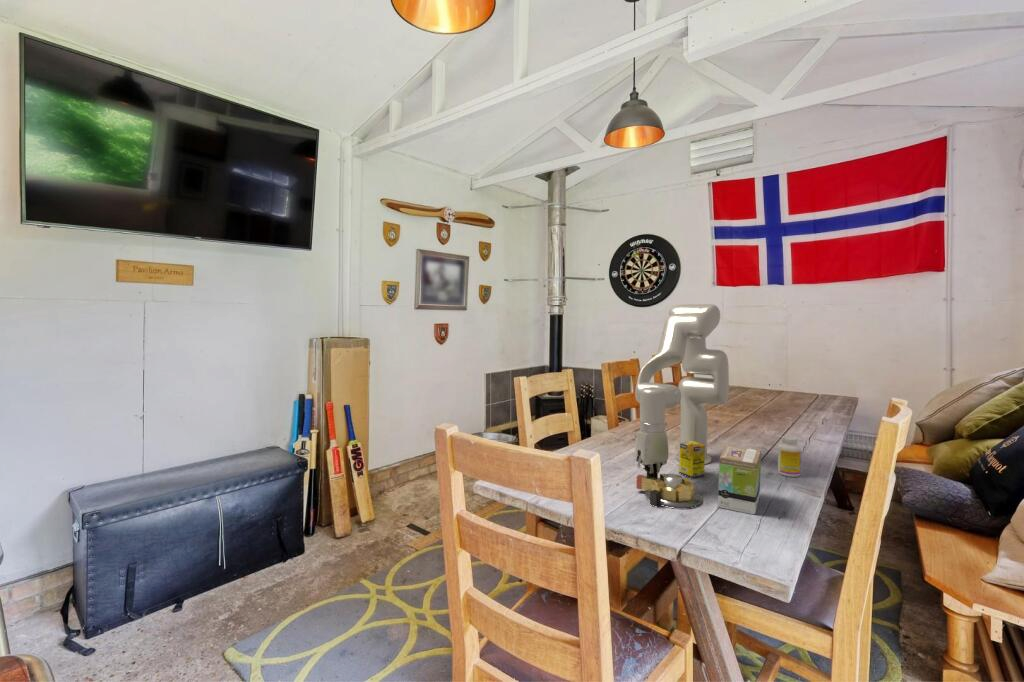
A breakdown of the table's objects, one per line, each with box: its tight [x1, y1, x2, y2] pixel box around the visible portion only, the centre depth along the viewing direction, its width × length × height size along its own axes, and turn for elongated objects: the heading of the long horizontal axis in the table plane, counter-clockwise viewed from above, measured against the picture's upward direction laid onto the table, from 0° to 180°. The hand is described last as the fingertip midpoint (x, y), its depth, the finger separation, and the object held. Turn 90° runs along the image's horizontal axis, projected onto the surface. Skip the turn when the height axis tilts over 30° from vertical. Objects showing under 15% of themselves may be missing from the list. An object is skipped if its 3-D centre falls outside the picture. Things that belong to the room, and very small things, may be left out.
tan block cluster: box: [635, 473, 696, 502], centre depth 139 cm, size 16×12×4 cm
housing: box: [644, 473, 702, 509], centre depth 138 cm, size 16×18×6 cm
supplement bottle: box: [777, 435, 802, 478], centre depth 158 cm, size 7×7×13 cm
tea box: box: [717, 445, 762, 515], centre depth 134 cm, size 15×10×15 cm
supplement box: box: [678, 441, 706, 479], centre depth 158 cm, size 6×6×11 cm
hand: (652, 484), depth 145 cm, fingers closed
